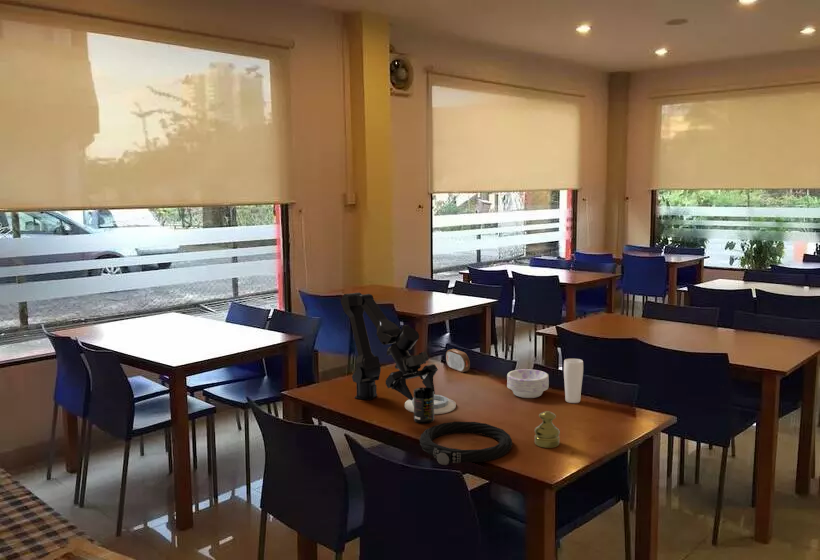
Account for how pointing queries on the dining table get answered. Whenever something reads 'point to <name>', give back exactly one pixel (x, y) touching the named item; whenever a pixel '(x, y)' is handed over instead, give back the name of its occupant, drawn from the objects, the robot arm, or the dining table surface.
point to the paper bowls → (527, 382)
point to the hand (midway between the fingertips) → (423, 397)
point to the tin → (457, 360)
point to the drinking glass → (573, 379)
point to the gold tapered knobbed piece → (547, 431)
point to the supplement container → (423, 405)
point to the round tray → (436, 411)
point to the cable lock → (458, 455)
